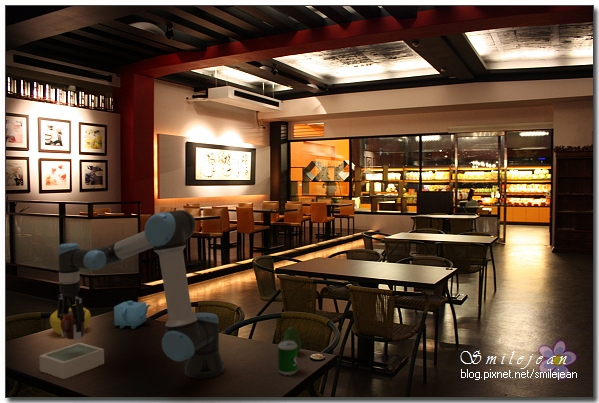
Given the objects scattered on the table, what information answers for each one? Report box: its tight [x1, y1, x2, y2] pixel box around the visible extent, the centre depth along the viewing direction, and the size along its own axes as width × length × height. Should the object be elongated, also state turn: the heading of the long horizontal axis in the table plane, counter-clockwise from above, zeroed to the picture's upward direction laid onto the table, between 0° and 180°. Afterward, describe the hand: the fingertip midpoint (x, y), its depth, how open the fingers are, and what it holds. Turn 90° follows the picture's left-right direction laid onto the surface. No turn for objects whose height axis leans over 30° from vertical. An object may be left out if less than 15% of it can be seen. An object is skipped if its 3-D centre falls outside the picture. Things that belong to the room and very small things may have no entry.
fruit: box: [282, 326, 302, 354], centre depth 215 cm, size 8×8×12 cm
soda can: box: [277, 340, 298, 376], centre depth 196 cm, size 8×8×12 cm
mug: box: [61, 310, 86, 340], centre depth 202 cm, size 12×9×10 cm
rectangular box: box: [38, 342, 105, 380], centre depth 203 cm, size 16×18×6 cm
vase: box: [49, 304, 92, 336], centre depth 247 cm, size 18×18×19 cm
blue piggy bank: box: [113, 300, 152, 329], centre depth 257 cm, size 18×16×13 cm
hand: (71, 337), depth 202 cm, fingers closed on mug, 7 cm apart
